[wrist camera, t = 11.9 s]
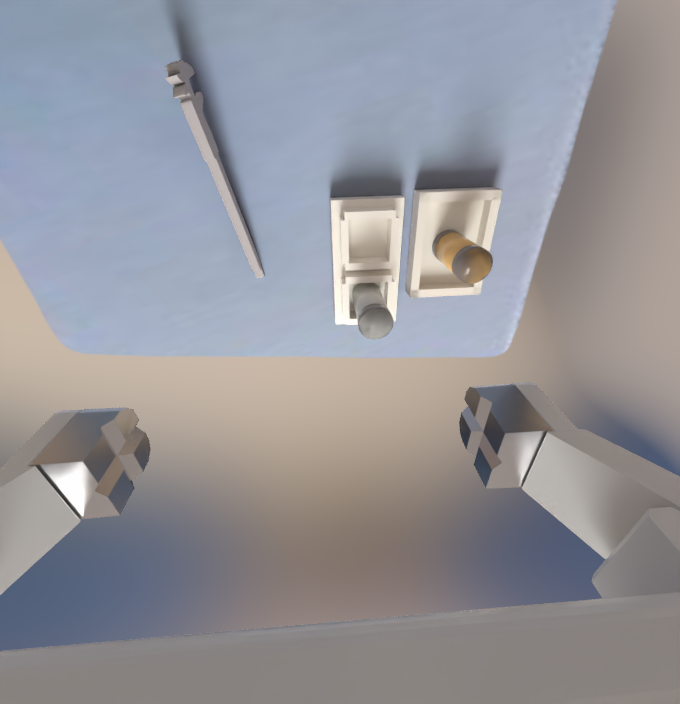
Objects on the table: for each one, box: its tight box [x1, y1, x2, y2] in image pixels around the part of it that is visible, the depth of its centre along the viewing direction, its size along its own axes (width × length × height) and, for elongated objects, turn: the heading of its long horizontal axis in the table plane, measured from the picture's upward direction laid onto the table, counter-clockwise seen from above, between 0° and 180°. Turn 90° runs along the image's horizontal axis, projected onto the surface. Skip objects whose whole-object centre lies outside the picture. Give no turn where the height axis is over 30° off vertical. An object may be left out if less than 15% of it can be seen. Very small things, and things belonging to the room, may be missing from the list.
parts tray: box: [405, 187, 503, 298], centre depth 39 cm, size 12×9×2 cm
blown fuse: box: [432, 230, 493, 284], centre depth 36 cm, size 4×4×8 cm
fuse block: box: [330, 195, 405, 339], centre depth 36 cm, size 15×8×10 cm, turn 2°
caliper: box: [165, 60, 265, 278], centre depth 33 cm, size 20×1×6 cm, turn 12°
